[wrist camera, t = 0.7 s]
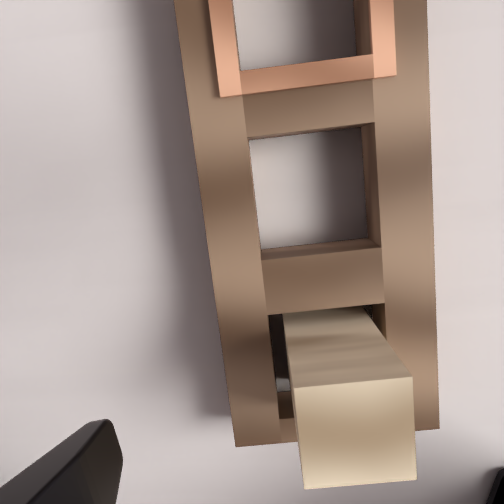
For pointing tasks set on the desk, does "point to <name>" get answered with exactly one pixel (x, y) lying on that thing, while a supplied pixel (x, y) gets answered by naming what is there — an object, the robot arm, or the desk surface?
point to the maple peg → (348, 400)
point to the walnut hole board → (329, 253)
